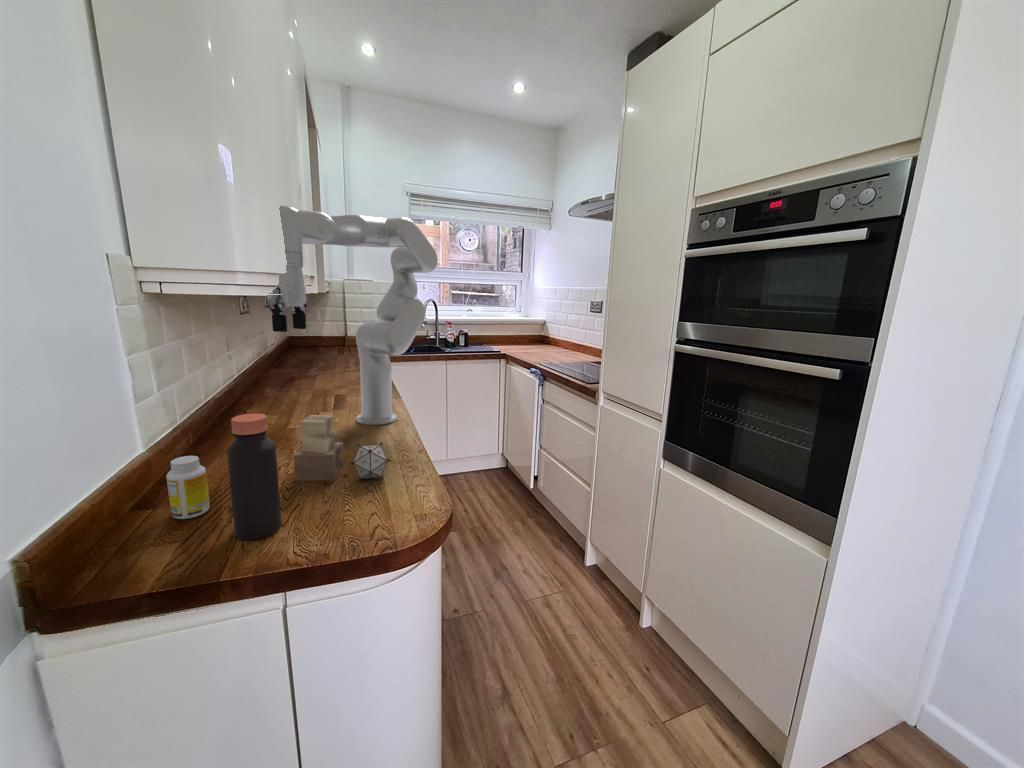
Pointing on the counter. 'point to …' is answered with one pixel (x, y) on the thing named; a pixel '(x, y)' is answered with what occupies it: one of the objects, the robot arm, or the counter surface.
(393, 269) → the robot arm
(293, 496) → the counter surface
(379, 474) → the game die
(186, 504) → the supplement bottle
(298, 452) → the walnut block
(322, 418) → the pale wooden block
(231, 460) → the water bottle
